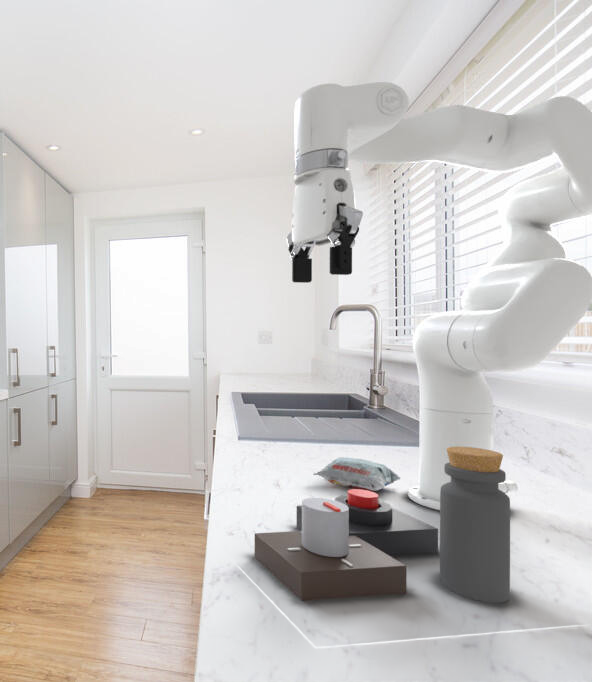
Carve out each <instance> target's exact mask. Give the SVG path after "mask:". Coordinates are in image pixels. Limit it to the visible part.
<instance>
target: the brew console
mask: <svg viewBox="0 0 592 682" xmlns="http://www.w3.org/2000/svg"><path fill="white" fill-rule="evenodd" d="M254 559H256V560H257V561H258V562H259V563H260V564H261V565H262V566H263V567H264V568H265V569H267V570H268V571H269V572H270V573H271V574H272V575H273V576H274V577H275V578H276V579H278V580H279V582H281V583H282V585H284V586H285V587H286V588H287V589H288V590H289V591H290V592H291V593H292V594H293V595H295V597H297V598H298V600H300V601H301V602H303V601H319V600H329V599H330V600H331V599H347V598H358V597H359V598H360V597H373V596H387V595H401V594H402V595H403V594H407V573H408V571H407V567H408V566H407V565H406V564H404V563H403V562H401V561H399V560H397V559H396V558H395V557H393V556H389V555H387V554H386V553H384V552H382V551H380V550H379V549H377V548H375V547H374V546H372V545H370V544H369V543H367V542H365V541H364V540H362V539H360V538H358V537H357V536H355V535H349V553H348V554H347V555H346V556H342V557H328V556H322V555H319V554H315V553H313V552H310V551H308V550H307V549H305V548H304V547H303V546H302V531H301V530H293V531H276V532H257V533H255V532H254Z"/></svg>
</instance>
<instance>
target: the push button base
mask: <svg viewBox="0 0 592 682" xmlns="http://www.w3.org/2000/svg"><path fill="white" fill-rule="evenodd" d="M334 500H335V501H338V502H341V503H343V504H345V505H347V506H348V508H349V535H355V536H357V537H358V538H360V539H362V540H364V541H365V542H367V543H369V544H370V545H372V546H374V547H375V548H377V549H379V550H380V551H382V552H384V553H386V554H387V555H389V556H391V557H404V556H406V557H407V556H423V555H437V554H439V528H437V527H435V526H433V525H431V524H428V523H426V522H424V521H421V520H419V519H417V518H416V517H413V516H411V515H409V514H406V513H405V512H402V511H400V510H398V509H395V508H394V507H392V506H391V505H390V503H388V502H385V501H383V500H381V499H379V508H378V509H367V508H360V507H356V506H352V505H350V504H348V494H347V495H339V496H337V497H335V498H334ZM296 528H297V530H298V531H302V505H296Z"/></svg>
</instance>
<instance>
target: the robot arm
mask: <svg viewBox="0 0 592 682" xmlns="http://www.w3.org/2000/svg"><path fill="white" fill-rule="evenodd" d="M409 104H410V101H409V96H408V94H407V92H406V90H405V89H403V88H402V87H401V86H399V85H398V84H396V83H392V82H388V81H387V82H386V81H377V82H369V83H363V84H355V85H346V86H345V85H344V86H343V85H341V84H338V83H323V84H318V85H315V86H311V87H309V88H308V89H306V90H305V91H303V92H301V94H299V96H298V97H297V99H296V101H295V104H294V179H293V180H294V184H295V187H294V193H293V201H292V216H291V231H290V232H289V234H288V235H287V236H286V243H287V246H288V249H287V250H288V252H289V253H290V259H291V281H292V283H301V284H302V283H304V284H305V283H307V284H308V283H311V282H312V281H313V269H312V268H313V258H310V256H311V254H312V252H313V249H314V247H315V246H316V247H317V246H318V247H320V246H325V245H328V244H332V246H330V247H329V274H330V275H331V276H333V275H335V276H337V275H338V276H339V275H340V276H348V275H352V273H353V247H354V246H355V245H356V237H357V236H358V233H359V231H360V225H361V222H362V219H363V215H364V211H362V210H360V209H357V207H356V205H357V204H356V195H355V193H356V192H355V188H354V182H353V176H352V173H351V170H349V162H354V163H360V164H367V165H387V164H388V165H389V164H410V163H423V162H438V163H443V164H448V165H452V166H458V167H463V168H468V169H473V170H480V171H483V172H488V173H497V174H498V173H500V174H501V173H509V172H512V171H513V172H514V171H517V170H519V169H522V168H525V167H528V166H531V165H535V164H537V163H539V162H543V161H546V160H548V159H551V158H552V159H553V158H554V157H556V158H557V160H558V161H559V164H560V165H561V166H562V168H559V169H557V170H553V171H550V172H548V173H544V174H541V175H537V176H534V177H532V178H529V179H527V180H523V181H522V182H519V183H517V184H516V185H514V186H513V187H511V188H510V189H509V190H507V192H505V194H504V195H503V197H502V198H501V200H500V203H499V206H498V215H499V220H500V224H501V228H502V233H503V245H502V247H501V248H500V249H499V250H498V252H497V253H496V254H495V255H494V256H493V257H492V258H491V259H490V261H489V262H488V263H487V264H486V265H485V266H484V267H483V268H482V269H481V270H480V271H479V272H478V273H477V274H476V275H475V276H474V277H473V279H471V280H470V281H469V283H468V285H466V287H465V288H464V290H463V292H462V295H461V297H460V307H461V309H462V311H461V310H459V311H446V312H441V313H437V314H433V315H430V316H429V317H426V318H425V319H423V320H422V321H421V322H420V323H418V325H417V326H416V328H415V329H414V332H413V335H412V343H411V345H412V351H413V356H414V360H415V364H416V369H417V374H418V387H419V409H418V410H419V412H418V413H419V421H418V422H419V424H418V425H419V427H418V429H419V430H418V431H419V433H418V434H419V435H418V436H419V437H418V438H419V439H418V440H419V441H418V445H419V446H418V449H419V450H418V453H419V455H418V456H419V457H418V464H419V465H418V467H419V468H418V485H415V486H412V487H409V488H408V489H407V496H408V498H409V499H410V500H411V501H413V502H414V503H416V504H418V505H420V506H423V507H425V508H429V509H431V510H432V509H433V510H436V511H439V512H440V489H441V486H442V485H444V484H446V483H449V482H451V476H449V475H447V474H446V473H445V471H444V466H445V464H446V463H450V461H449V457H448V453H447V448H449V447H473V448H480V449H486V450H491V451H494V397H493V393H492V390H491V387H490V385H489V384H488V382H487V379H486V378H485V376H484V374H483V373H495V374H519V373H523V372H527V371H529V370H532V369H533V368H535V367H537V366H538V365H539V364H541V363H542V362H543V361H544V360H545V359H546V358H547V357H548V356H549V355H550V354H551V352H552V351H554V349H556V347H557V346H558V345H559V344H560V343H561V342H562V341H563V339H564V338H565V337H566V336H567V335H568V334H569V333H570V332H571V330H572V329H574V327H576V326H577V324H578V323H579V322H580V320H581V319H583V318H584V316H585V315H586V313H587V312H588V310H589V308H590V307H591V304H592V275H591V273H590V272H589V271H588V269H587V268H586V267H585V266H584V265H582V264H581V263H579V262H577V261H574V260H572V259H567V250H566V247H565V245H564V244H563V243H562V241H561V239H559V238H558V237H557V235H556V232H555V231H554V228H553V225H556V224H561V223H565V222H571V221H575V220H579V219H585V218H589V217H592V110H590V108H588V107H587V106H586V105H584V103H582V102H581V101H579V100H578V99H575V98H573V97H570V96H566V95H565V96H563V95H560V96H555V97H551V98H549V99H547V100H544V101H542V102H540V103H538V104H536V105H533V106H531V107H529V108H527V109H524V110H523V111H521V112H518V113H515V114H504V113H500V112H499V113H498V112H494V111H489V110H484V109H480V108H476V107H472V106H468V105H467V106H466V105H463V104H454V105H448V106H443V107H438V108H435V109H430V110H428V111H424V112H421V113H418V114H414V115H412V116H408V117H405V116H406V114H407V112H408V110H409ZM518 488H519V487H518V485H517V483H516V482H515V481H512V480H505V482H502V483H498V489H499V490H501V491H502V492H504V493H505V494H515V493H517V492H518V490H519V489H518Z"/></svg>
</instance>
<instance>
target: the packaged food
mask: <svg viewBox="0 0 592 682" xmlns="http://www.w3.org/2000/svg"><path fill="white" fill-rule="evenodd" d="M312 475H313V476H318V477H322V478H323V479H324V480H325V481H327V482H329V483H331V484H334V485H338V486H343V487H347V488H349V489H362V490H368V491H371V492H374V491H379V490H381V489H385V487H387V486H389V485H391V484H394V482H396V481H398V480H401V477H400V476H399V475H398V474H397V473H395V472H394V471H393V470H391V469H390V468H389V467H387V466H386V465H385V464H382V463H379V462H375V461H371V460H366V459H362V458H354V457H342V456H341V457H337V458H335V459H334V460H332V461H331V462H330V463H328V464H327V465H325V466H324V468H322V469H321V470H318V471H315V472H313V473H312Z"/></svg>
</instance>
